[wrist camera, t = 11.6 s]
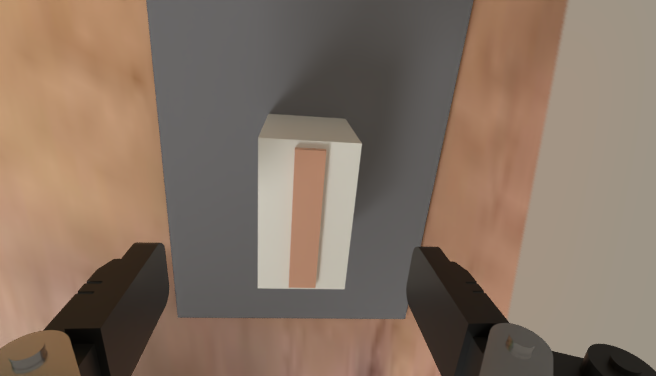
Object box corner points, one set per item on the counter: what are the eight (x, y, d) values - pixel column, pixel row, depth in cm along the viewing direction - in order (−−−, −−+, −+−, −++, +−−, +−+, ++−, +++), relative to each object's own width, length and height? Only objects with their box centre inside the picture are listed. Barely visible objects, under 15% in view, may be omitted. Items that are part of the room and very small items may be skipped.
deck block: (268, 113, 18) (257, 139, 13) (345, 118, 18) (363, 145, 13) (266, 233, 20) (256, 292, 15) (333, 235, 21) (345, 293, 16)
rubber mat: (180, 312, 22) (177, 317, 22) (145, -50, 15) (141, -53, 15) (402, 313, 24) (404, 318, 24) (471, -12, 17) (476, -14, 16)
